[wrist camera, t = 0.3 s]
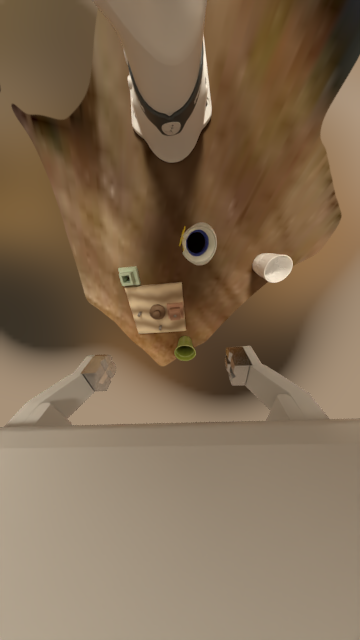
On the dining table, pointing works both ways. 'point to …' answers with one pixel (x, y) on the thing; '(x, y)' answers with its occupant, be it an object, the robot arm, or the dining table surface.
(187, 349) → the plant pot
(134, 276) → the pale green pipe fitting
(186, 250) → the water bottle
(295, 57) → the dining table surface
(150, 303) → the plate
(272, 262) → the white cup
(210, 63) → the dining table surface
